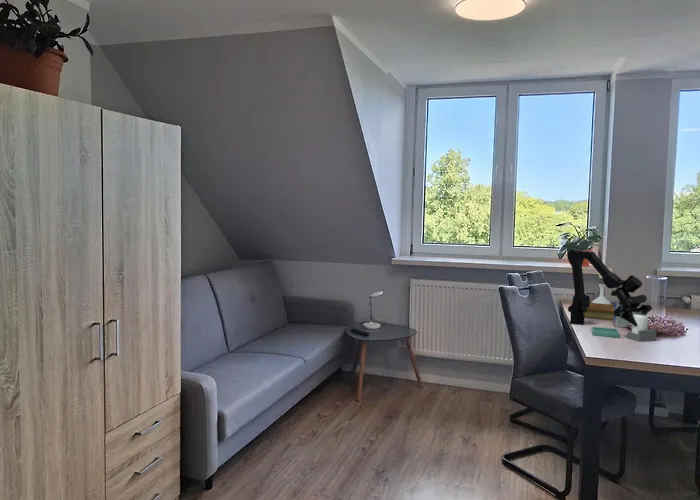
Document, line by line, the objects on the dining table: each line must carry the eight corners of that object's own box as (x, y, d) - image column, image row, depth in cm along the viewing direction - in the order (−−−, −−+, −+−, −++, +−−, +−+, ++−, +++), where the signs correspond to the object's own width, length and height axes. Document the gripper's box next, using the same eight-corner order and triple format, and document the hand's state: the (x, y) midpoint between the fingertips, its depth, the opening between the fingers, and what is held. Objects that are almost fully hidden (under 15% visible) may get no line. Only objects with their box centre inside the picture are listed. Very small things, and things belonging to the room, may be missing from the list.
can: (645, 337, 258) (646, 312, 257) (647, 340, 252) (649, 315, 251) (630, 336, 260) (631, 311, 259) (632, 339, 254) (634, 314, 253)
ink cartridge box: (632, 325, 284) (634, 298, 283) (635, 328, 279) (637, 300, 278) (612, 324, 286) (613, 297, 285) (615, 326, 281) (616, 299, 280)
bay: (627, 337, 257) (627, 327, 256) (643, 336, 260) (644, 326, 259) (639, 341, 250) (639, 331, 250) (655, 340, 253) (656, 329, 253)
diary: (582, 311, 325) (583, 302, 324) (617, 314, 317) (617, 305, 317) (581, 318, 304) (582, 308, 304) (618, 321, 296) (619, 311, 296)
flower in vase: (587, 304, 345) (589, 266, 343) (602, 304, 348) (605, 265, 346) (601, 308, 332) (603, 268, 330) (617, 308, 335) (619, 268, 333)
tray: (592, 335, 260) (592, 331, 260) (591, 330, 271) (591, 326, 271) (619, 338, 256) (619, 334, 256) (617, 332, 267) (617, 329, 266)
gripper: (619, 289, 255) (637, 316, 246) (650, 288, 261) (668, 315, 251) (606, 302, 263) (622, 329, 254) (636, 301, 269) (653, 328, 259)
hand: (642, 325), depth 254 cm, fingers closed on can, 6 cm apart
